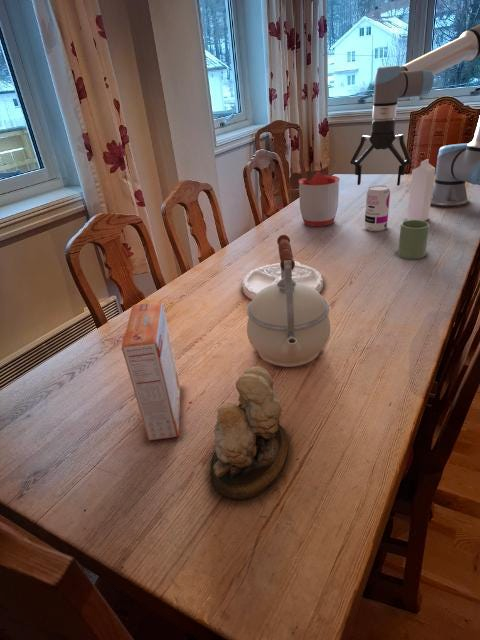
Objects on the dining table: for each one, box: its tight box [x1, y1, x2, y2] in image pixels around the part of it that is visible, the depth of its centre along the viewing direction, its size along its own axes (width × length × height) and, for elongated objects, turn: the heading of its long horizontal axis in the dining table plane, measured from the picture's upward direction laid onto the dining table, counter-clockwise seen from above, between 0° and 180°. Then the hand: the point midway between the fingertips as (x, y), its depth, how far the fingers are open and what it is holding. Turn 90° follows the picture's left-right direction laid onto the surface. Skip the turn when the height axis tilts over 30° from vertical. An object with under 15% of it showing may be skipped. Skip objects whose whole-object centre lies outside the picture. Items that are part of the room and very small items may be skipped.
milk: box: [406, 158, 436, 221], centre depth 161 cm, size 6×6×22 cm
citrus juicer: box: [298, 171, 340, 228], centre depth 169 cm, size 16×17×20 cm
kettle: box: [246, 234, 331, 368], centre depth 90 cm, size 25×18×25 cm
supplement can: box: [363, 185, 391, 232], centre depth 158 cm, size 8×8×15 cm
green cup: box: [397, 220, 430, 260], centre depth 136 cm, size 8×8×10 cm
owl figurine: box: [209, 365, 290, 501], centre depth 67 cm, size 18×12×17 cm, turn 157°
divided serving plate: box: [242, 260, 324, 301], centre depth 127 cm, size 24×27×2 cm
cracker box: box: [121, 301, 182, 442], centre depth 77 cm, size 14×6×21 cm, turn 5°
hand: (378, 184), depth 154 cm, fingers open, 13 cm apart
